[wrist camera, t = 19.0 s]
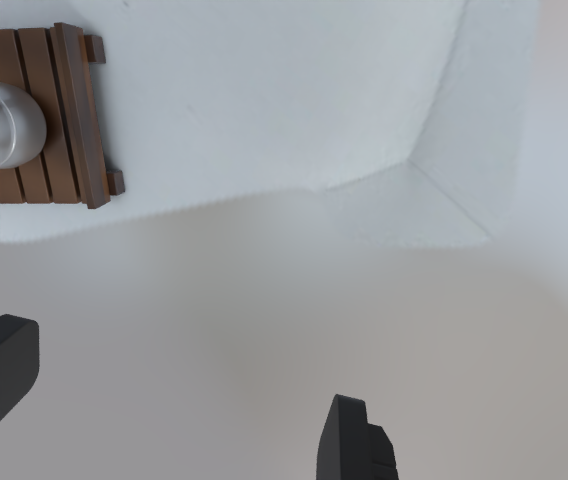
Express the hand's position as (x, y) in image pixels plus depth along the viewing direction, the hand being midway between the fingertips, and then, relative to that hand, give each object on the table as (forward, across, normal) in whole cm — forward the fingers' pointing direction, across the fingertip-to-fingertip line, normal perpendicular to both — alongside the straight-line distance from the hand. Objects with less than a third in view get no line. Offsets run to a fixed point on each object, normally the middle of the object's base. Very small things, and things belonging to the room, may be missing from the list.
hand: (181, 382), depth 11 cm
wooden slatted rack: (+28, +22, +1) cm, 35 cm away
